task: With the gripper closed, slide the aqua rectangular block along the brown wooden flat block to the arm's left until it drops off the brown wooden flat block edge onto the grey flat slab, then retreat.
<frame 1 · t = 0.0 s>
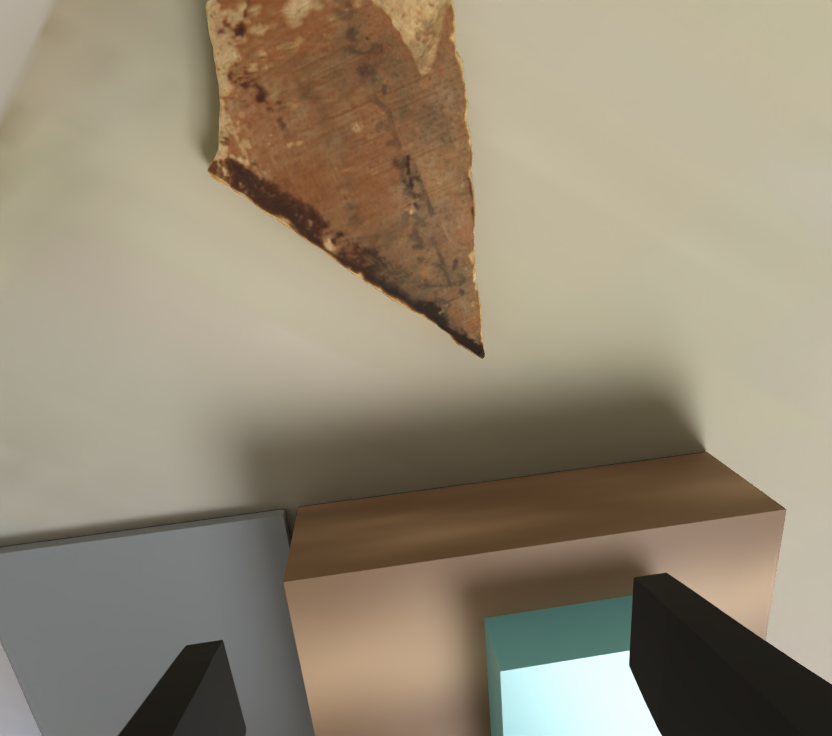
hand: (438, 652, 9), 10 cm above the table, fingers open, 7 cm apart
grey flat slab: (176, 675, 21), on the table
shard: (398, 149, 17), on the table
aqua rectangular block: (573, 706, 18), point 4 cm above the table, touching brown wooden flat block
brown wooden flat block: (513, 623, 22), on the table
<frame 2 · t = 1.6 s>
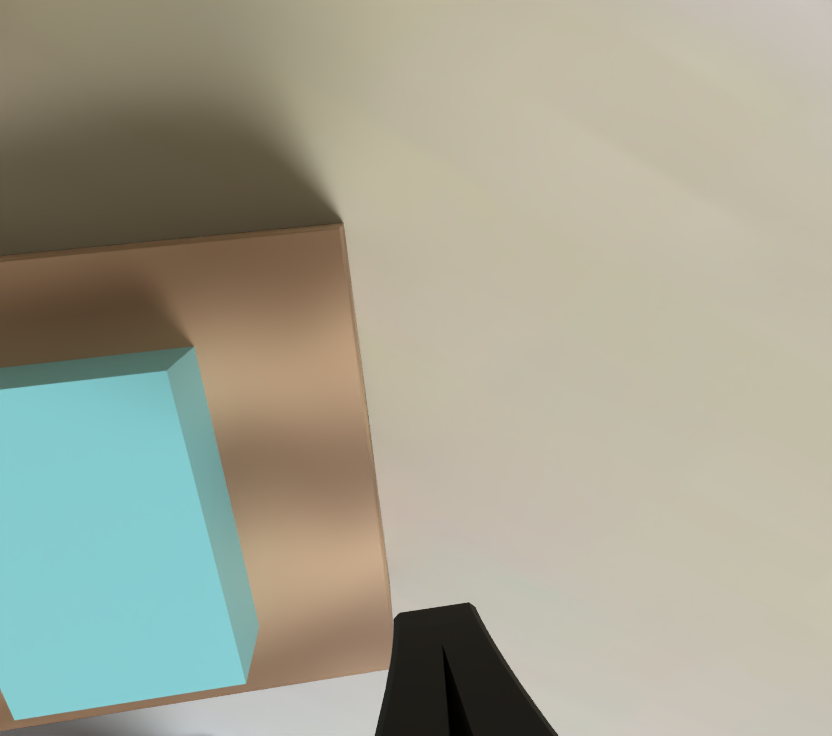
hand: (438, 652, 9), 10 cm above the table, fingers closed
aqua rectangular block: (119, 514, 14), point 4 cm above the table, touching brown wooden flat block
brown wooden flat block: (140, 452, 18), on the table
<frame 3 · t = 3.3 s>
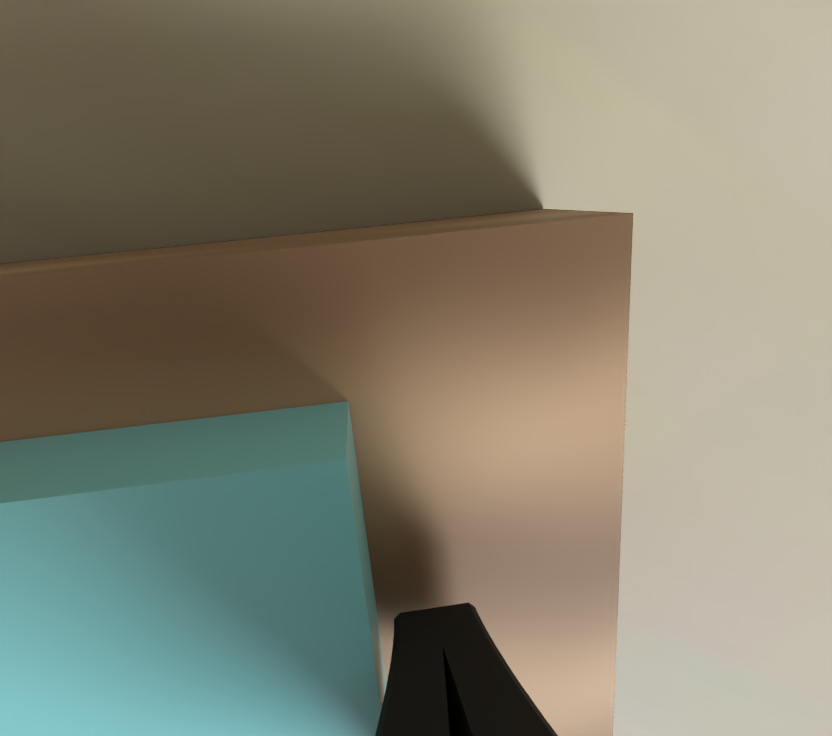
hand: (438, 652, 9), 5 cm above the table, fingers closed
aqua rectangular block: (216, 645, 10), point 4 cm above the table
brown wooden flat block: (246, 521, 13), on the table
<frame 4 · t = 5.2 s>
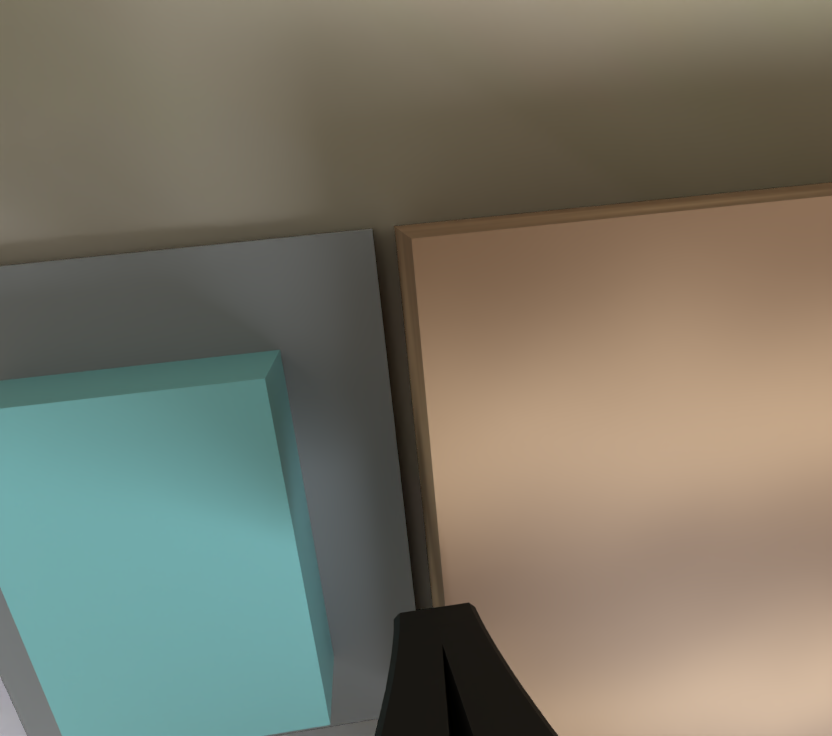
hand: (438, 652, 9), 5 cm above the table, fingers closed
grey flat slab: (190, 530, 13), on the table
aqua rectangular block: (159, 593, 11), point 2 cm above the table, tilted 180°, touching grey flat slab
brown wooden flat block: (708, 458, 14), on the table
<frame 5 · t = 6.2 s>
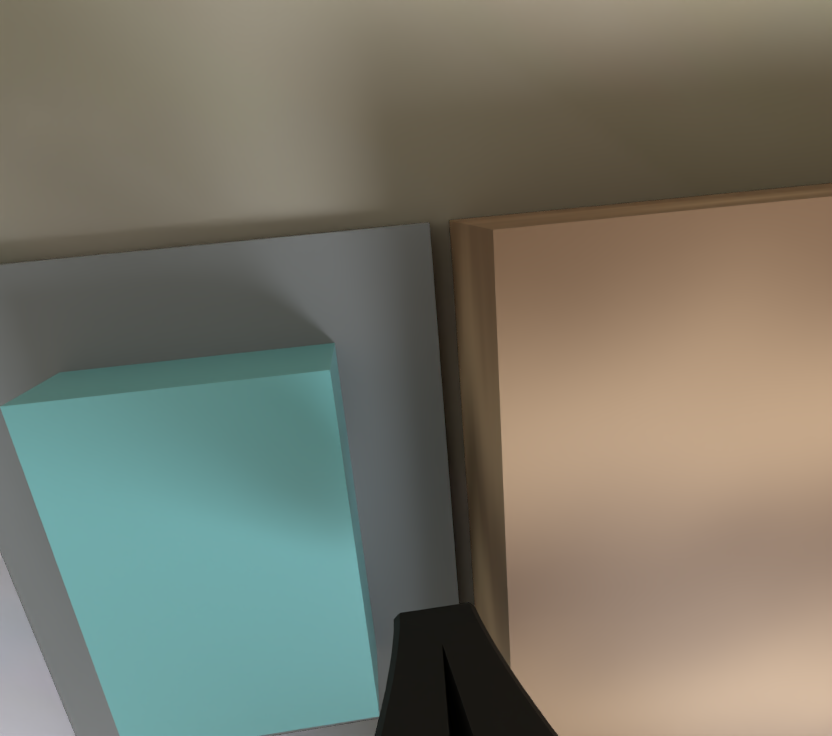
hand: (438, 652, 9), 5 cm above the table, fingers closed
grey flat slab: (238, 523, 13), on the table
aqua rectangular block: (217, 584, 11), point 2 cm above the table, tilted 180°, touching grey flat slab
brown wooden flat block: (750, 453, 14), on the table
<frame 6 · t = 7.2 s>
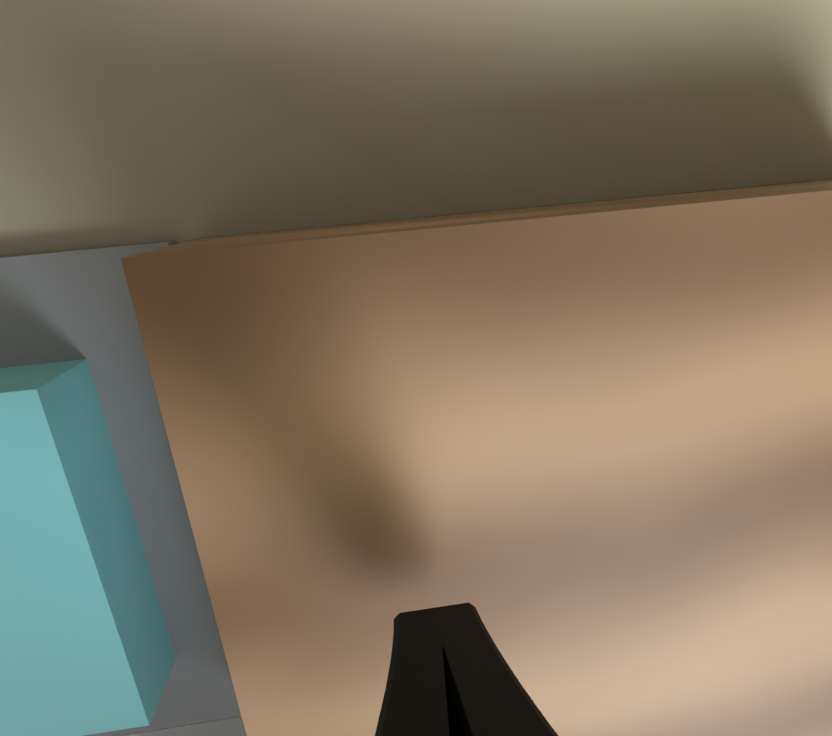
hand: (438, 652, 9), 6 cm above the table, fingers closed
grey flat slab: (21, 534, 14), on the table
brown wooden flat block: (542, 466, 15), on the table
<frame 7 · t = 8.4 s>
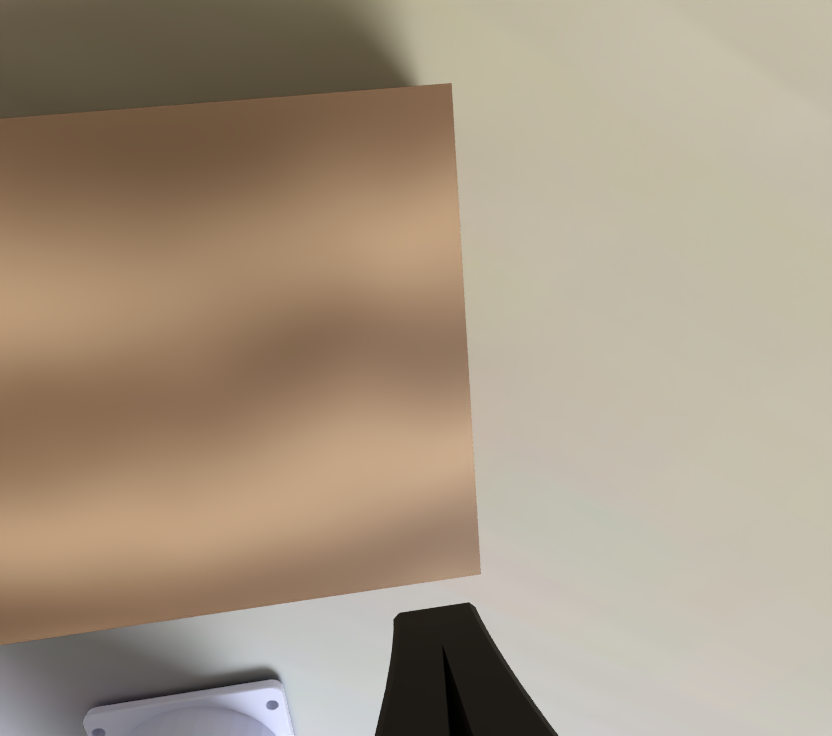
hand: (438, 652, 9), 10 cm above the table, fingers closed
brown wooden flat block: (212, 358, 18), on the table
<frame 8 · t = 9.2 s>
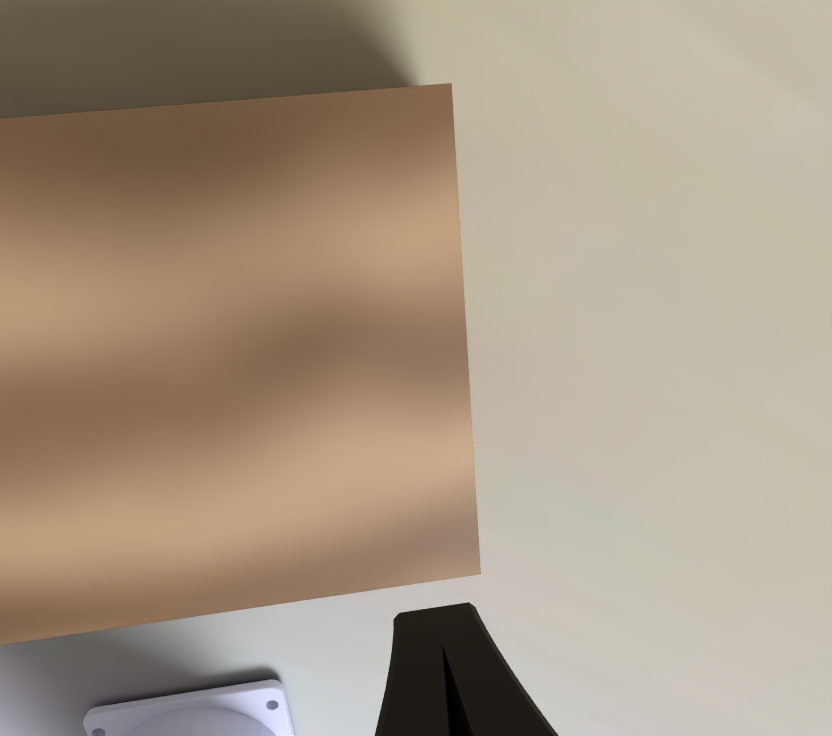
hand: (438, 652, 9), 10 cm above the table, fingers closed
brown wooden flat block: (212, 358, 18), on the table
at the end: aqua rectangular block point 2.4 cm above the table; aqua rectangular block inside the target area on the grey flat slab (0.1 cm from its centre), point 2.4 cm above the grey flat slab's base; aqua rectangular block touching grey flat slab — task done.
